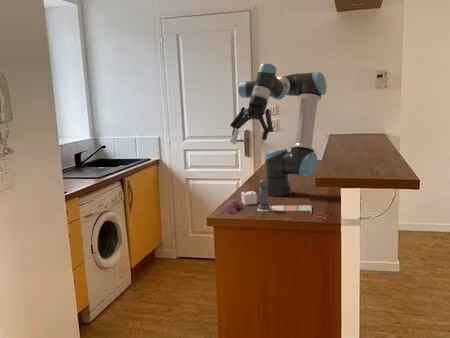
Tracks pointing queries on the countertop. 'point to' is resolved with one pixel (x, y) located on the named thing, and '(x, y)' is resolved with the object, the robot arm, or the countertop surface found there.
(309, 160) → the robot arm
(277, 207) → the board
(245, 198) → the die
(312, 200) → the countertop surface
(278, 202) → the countertop surface
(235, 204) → the video game controller
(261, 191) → the pawn
